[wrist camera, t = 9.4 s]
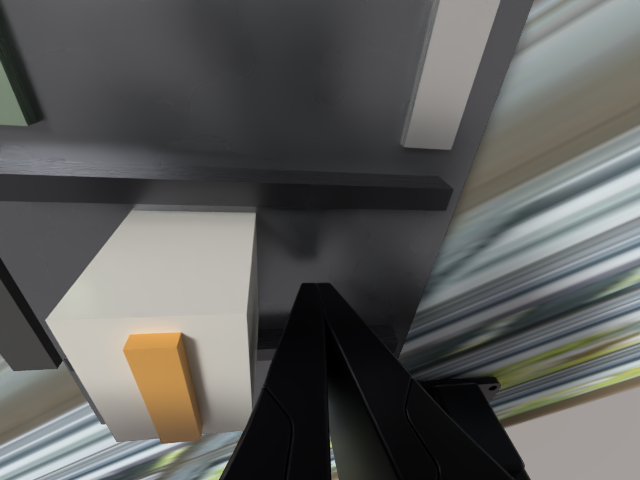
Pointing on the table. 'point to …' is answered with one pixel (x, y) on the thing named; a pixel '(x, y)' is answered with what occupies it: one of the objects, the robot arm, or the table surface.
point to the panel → (248, 137)
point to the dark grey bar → (22, 330)
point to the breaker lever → (167, 325)
